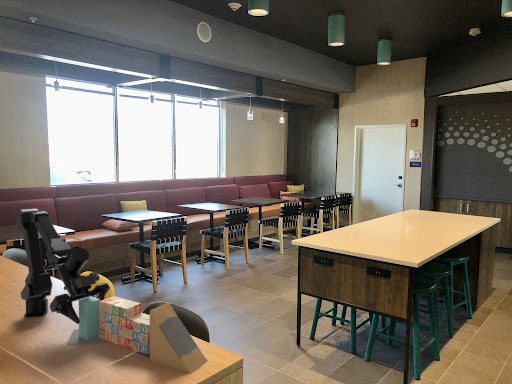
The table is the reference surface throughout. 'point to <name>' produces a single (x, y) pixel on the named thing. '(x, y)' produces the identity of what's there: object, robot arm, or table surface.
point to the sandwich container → (173, 341)
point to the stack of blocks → (124, 324)
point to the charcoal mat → (78, 340)
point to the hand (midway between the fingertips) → (92, 318)
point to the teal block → (89, 318)
